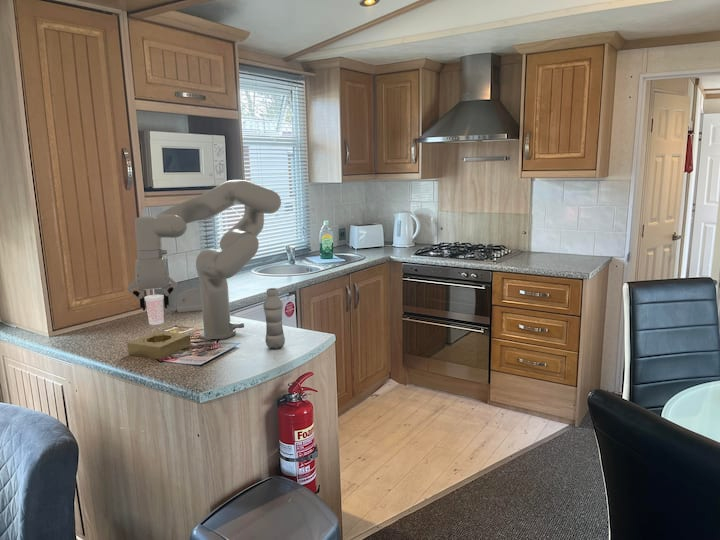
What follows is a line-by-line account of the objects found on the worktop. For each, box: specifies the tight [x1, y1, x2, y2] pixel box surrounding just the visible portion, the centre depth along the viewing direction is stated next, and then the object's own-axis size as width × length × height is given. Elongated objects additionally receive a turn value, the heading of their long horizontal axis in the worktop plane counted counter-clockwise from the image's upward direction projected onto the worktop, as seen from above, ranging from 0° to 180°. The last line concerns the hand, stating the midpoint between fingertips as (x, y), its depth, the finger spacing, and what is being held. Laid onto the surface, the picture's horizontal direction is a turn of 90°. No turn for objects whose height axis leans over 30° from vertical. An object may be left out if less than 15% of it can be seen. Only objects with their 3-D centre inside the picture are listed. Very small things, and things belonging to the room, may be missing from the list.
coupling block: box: [126, 330, 192, 360], centre depth 178 cm, size 14×14×4 cm
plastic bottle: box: [263, 287, 286, 349], centre depth 176 cm, size 6×7×20 cm
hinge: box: [176, 287, 202, 313], centre depth 231 cm, size 17×5×10 cm, turn 106°
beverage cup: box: [144, 289, 165, 326], centre depth 175 cm, size 6×6×14 cm
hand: (155, 307), depth 175 cm, fingers closed on beverage cup, 6 cm apart
